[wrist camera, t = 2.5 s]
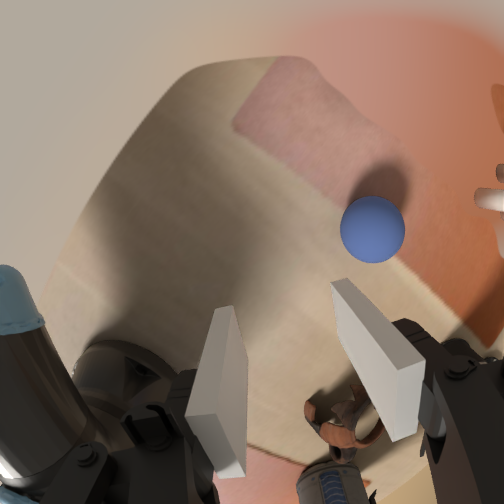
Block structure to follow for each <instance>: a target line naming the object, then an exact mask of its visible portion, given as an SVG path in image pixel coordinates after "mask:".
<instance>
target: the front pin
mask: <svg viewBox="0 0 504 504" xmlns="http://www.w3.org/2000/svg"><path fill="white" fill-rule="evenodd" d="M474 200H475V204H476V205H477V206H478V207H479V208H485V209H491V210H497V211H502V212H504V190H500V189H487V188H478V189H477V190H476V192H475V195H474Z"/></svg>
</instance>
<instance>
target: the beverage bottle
mask: <svg viewBox="0 0 504 504" xmlns="http://www.w3.org/2000/svg"><path fill="white" fill-rule="evenodd" d="M296 489H297V493H298V496H299V502H300V504H376V501H375V499H374V497H375V495H376V490H377V489H376V490H375V491H374V492H373V493H372V495H371V496H370V497H369V499H368V496H367V493H366V490H365V487H364V484H363V481H362V478H361V474H360V471H359V469H358V467H356V466H355V465H353V464H352V463H350V462H347V463H345V464H340V463H338V462H335V461H329V462H327V463H325V462H324V463H321V464H318V465H315V466H313V467H311V468H309V469H308V470H306V472H304V473H302V474H301V476H300V477H299V479H298V481H297V484H296Z"/></svg>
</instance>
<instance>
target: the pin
mask: <svg viewBox="0 0 504 504" xmlns="http://www.w3.org/2000/svg"><path fill="white" fill-rule="evenodd" d="M496 176H497V179H498V181H500V182H501V183H504V164H499V165H498V166H497V168H496Z"/></svg>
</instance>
